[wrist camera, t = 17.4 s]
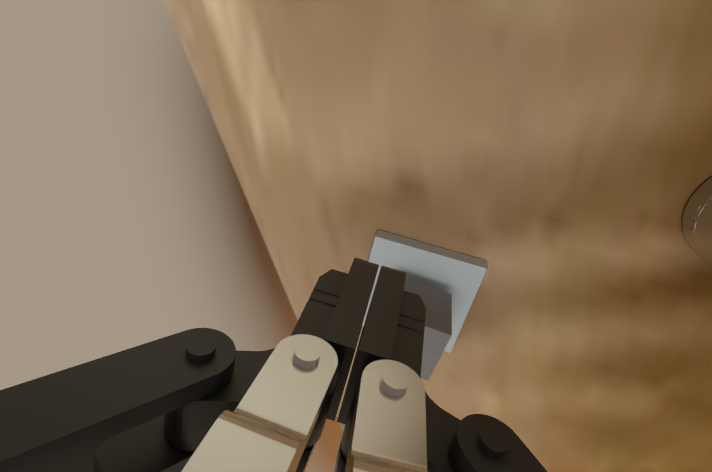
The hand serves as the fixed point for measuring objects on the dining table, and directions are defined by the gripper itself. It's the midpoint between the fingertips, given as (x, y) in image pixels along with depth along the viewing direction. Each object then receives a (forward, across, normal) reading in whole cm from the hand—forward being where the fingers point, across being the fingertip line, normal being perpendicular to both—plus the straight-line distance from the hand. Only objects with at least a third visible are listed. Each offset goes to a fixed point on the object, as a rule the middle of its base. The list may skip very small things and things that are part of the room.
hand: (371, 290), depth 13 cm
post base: (+29, -4, +18) cm, 35 cm away
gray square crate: (+26, -4, +18) cm, 32 cm away
